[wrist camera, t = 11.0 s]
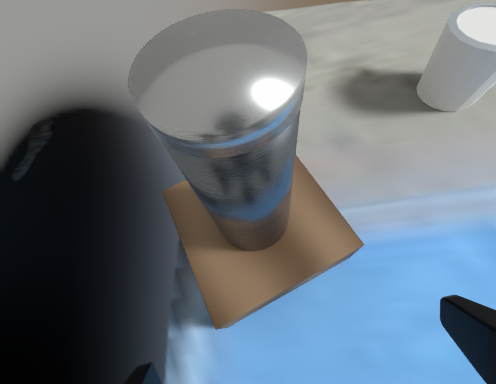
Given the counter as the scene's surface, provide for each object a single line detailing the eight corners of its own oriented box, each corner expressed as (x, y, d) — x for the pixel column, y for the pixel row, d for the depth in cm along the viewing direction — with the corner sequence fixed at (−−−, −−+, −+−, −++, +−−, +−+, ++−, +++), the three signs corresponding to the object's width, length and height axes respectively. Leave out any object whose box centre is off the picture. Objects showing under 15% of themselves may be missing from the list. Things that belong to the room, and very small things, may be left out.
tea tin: (269, 265, 17) (253, 158, 6) (204, 231, 18) (91, 97, 7) (300, 200, 19) (334, 24, 8) (239, 175, 20) (191, -1, 9)
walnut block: (227, 327, 19) (215, 329, 15) (179, 210, 24) (162, 191, 20) (349, 257, 20) (364, 244, 17) (279, 160, 25) (280, 134, 22)
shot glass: (402, 74, 29) (436, 6, 23) (465, 67, 28) (518, -4, 22) (422, 119, 26) (467, 55, 19) (494, 113, 25) (565, 45, 19)
